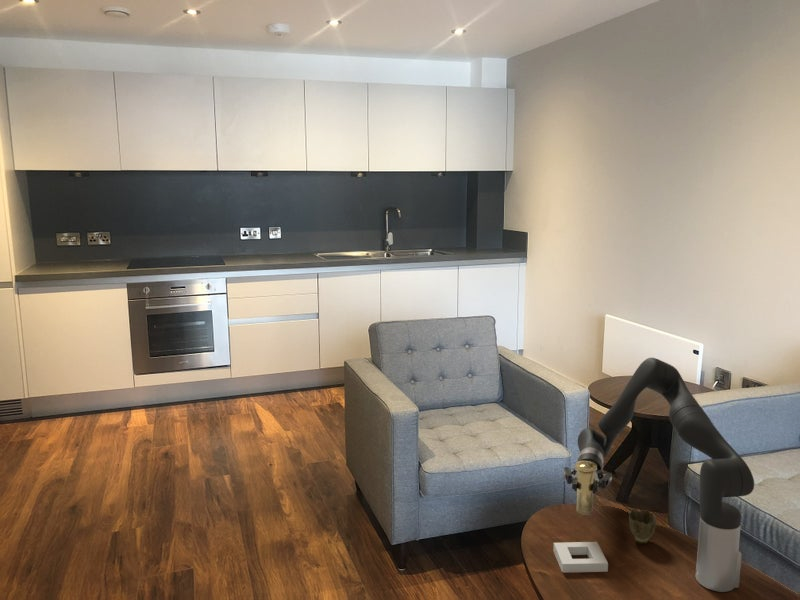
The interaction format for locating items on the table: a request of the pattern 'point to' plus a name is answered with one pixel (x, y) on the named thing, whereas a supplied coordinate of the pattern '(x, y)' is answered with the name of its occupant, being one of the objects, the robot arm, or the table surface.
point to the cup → (642, 525)
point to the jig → (568, 564)
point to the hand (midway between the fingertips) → (584, 489)
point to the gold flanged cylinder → (585, 486)
